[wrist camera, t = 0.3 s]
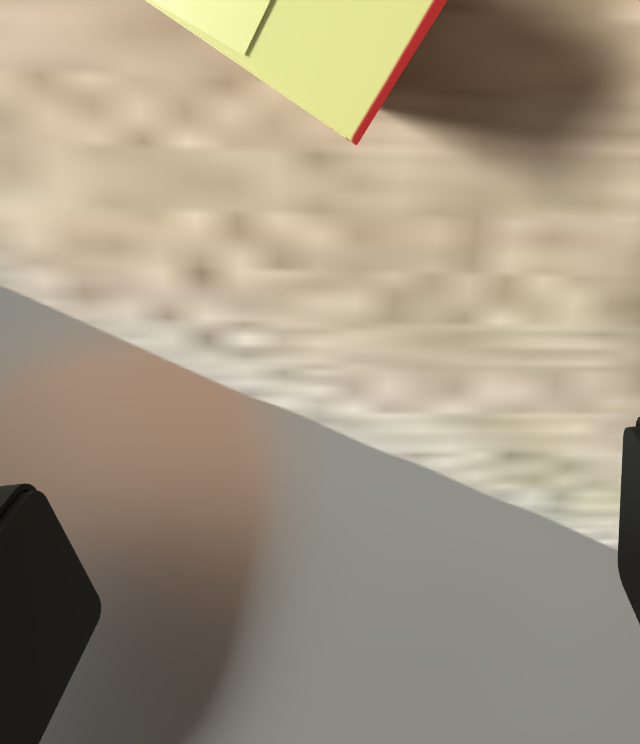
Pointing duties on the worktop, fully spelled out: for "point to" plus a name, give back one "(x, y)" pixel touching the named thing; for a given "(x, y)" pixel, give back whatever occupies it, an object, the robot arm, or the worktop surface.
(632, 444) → the robot arm
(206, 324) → the worktop surface
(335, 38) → the baking soda box
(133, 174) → the worktop surface
